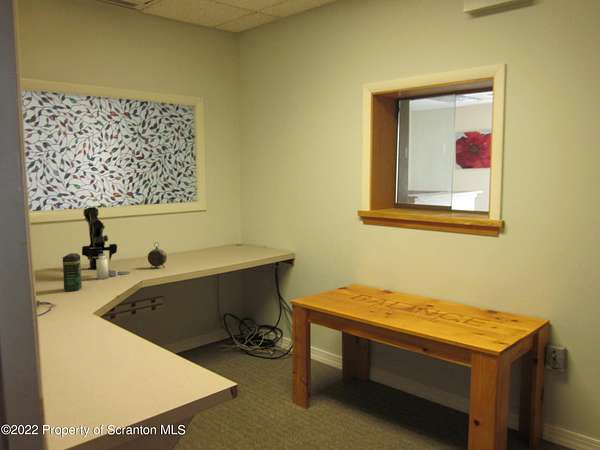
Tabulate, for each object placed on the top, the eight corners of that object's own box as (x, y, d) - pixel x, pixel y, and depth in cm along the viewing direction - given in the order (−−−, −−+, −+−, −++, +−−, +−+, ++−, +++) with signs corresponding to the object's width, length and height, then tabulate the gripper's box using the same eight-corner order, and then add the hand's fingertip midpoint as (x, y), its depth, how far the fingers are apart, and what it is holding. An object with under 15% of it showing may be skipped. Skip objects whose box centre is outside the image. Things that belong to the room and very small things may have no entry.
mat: (110, 274, 302) (110, 273, 302) (122, 271, 310) (122, 270, 310) (121, 275, 298) (121, 274, 298) (133, 272, 306) (133, 272, 306)
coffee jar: (79, 291, 260) (76, 255, 258) (62, 292, 259) (60, 255, 257) (83, 287, 269) (81, 252, 267) (67, 287, 268) (65, 252, 266)
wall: (102, 274, 300) (102, 269, 300) (104, 274, 301) (103, 268, 301) (116, 276, 295) (115, 270, 295) (117, 276, 296) (117, 270, 296)
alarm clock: (167, 267, 323) (166, 241, 321) (164, 268, 317) (163, 242, 315) (150, 267, 324) (149, 241, 322) (147, 268, 318) (145, 242, 317)
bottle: (94, 279, 289) (93, 254, 288) (103, 277, 295) (102, 252, 293) (102, 279, 287) (101, 255, 285) (110, 277, 292) (109, 253, 290)
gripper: (81, 232, 290) (84, 253, 281) (115, 229, 299) (119, 251, 290) (80, 244, 297) (83, 266, 289) (114, 241, 306) (118, 262, 298)
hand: (101, 261), depth 291 cm, fingers open, 9 cm apart
